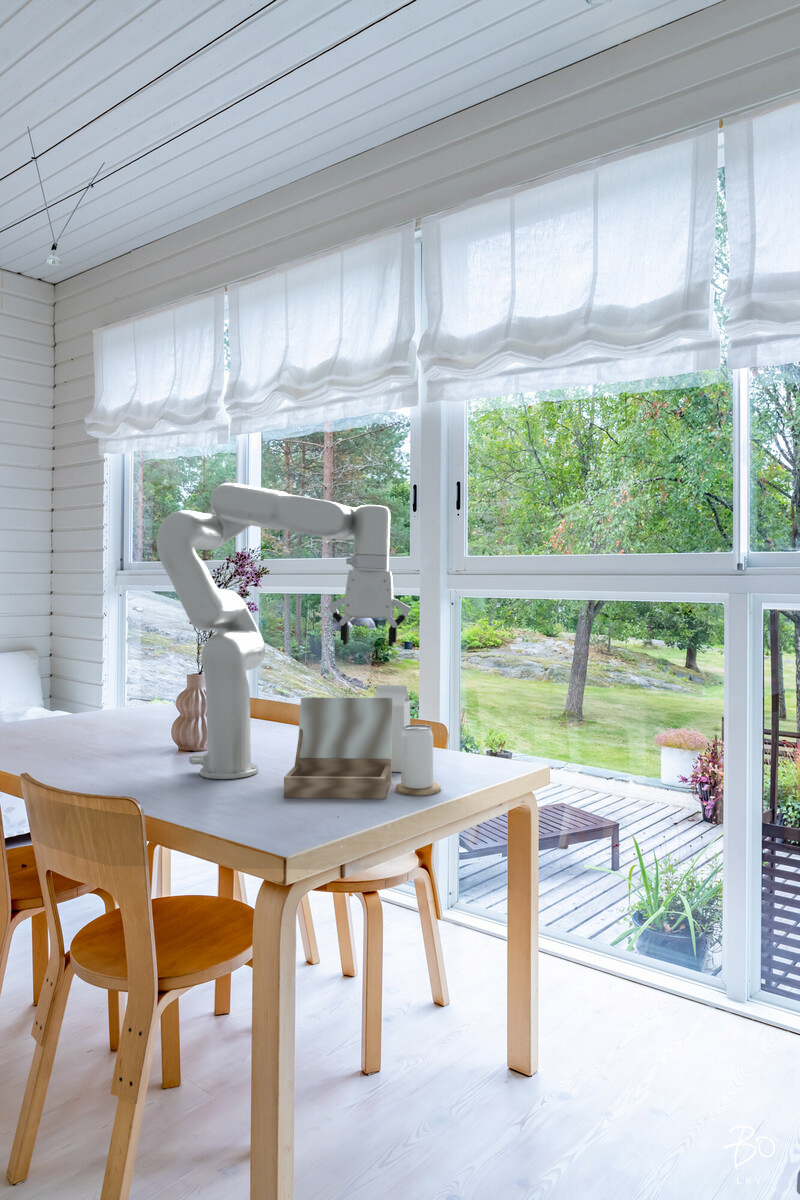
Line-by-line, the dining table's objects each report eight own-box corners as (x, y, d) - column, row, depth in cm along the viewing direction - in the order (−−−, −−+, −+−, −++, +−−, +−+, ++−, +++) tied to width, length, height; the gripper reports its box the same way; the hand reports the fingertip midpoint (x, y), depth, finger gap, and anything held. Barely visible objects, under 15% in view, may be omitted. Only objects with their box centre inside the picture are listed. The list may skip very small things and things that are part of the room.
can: (434, 789, 158) (433, 729, 158) (401, 790, 158) (401, 729, 158) (432, 781, 165) (432, 723, 165) (401, 782, 165) (400, 724, 165)
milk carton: (404, 772, 177) (403, 687, 177) (373, 771, 178) (372, 686, 178) (410, 765, 184) (409, 683, 184) (380, 764, 185) (379, 683, 185)
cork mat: (394, 795, 157) (394, 791, 157) (397, 784, 166) (397, 780, 166) (439, 796, 157) (439, 792, 157) (441, 784, 166) (441, 781, 166)
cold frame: (284, 797, 157) (282, 709, 156) (302, 776, 174) (301, 697, 174) (385, 798, 155) (384, 709, 155) (393, 777, 173) (392, 697, 172)
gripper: (327, 562, 165) (324, 644, 166) (410, 565, 164) (407, 648, 164) (333, 563, 173) (331, 642, 173) (413, 565, 171) (410, 645, 172)
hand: (368, 645), depth 169 cm, fingers open, 9 cm apart
